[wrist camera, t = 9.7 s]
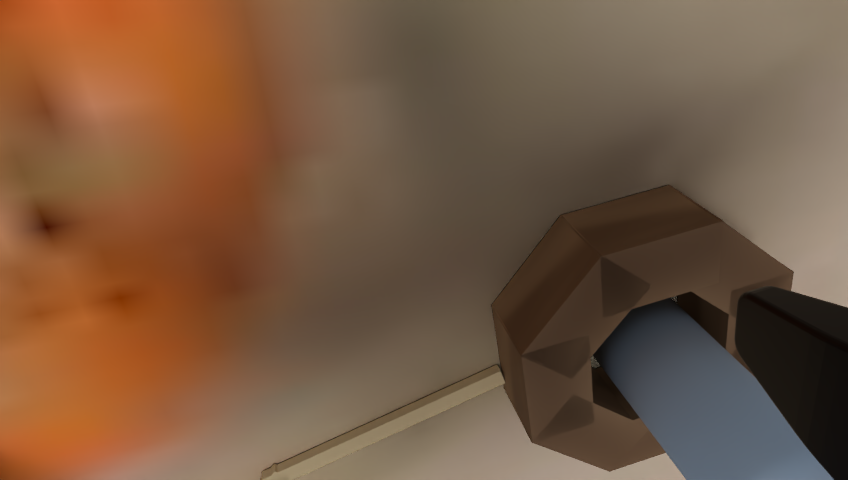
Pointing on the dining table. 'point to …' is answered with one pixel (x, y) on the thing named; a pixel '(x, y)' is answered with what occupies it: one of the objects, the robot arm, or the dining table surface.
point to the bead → (614, 313)
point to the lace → (386, 426)
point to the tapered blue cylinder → (701, 400)
